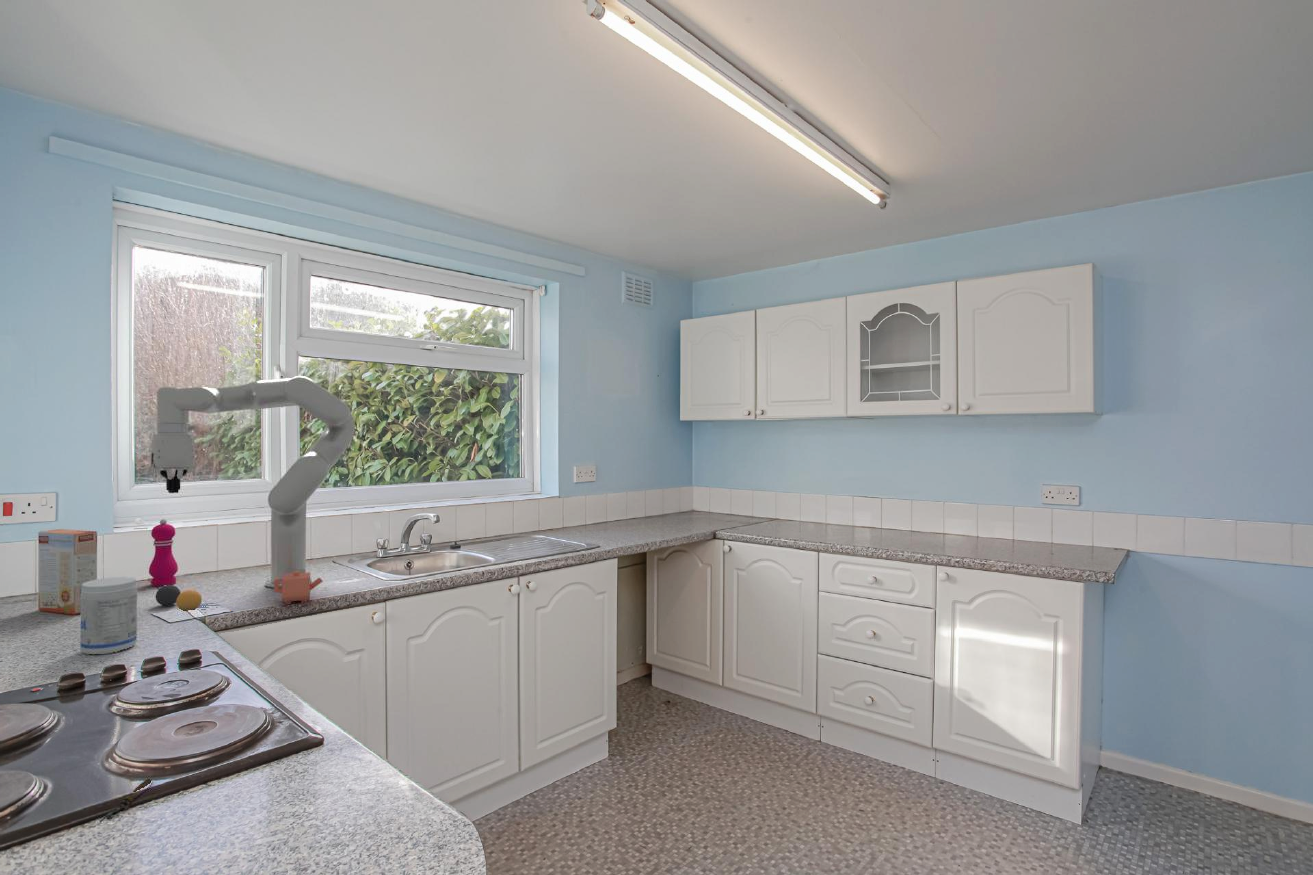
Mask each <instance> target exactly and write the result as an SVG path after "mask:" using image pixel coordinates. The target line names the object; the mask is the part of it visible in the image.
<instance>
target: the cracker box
mask: <svg viewBox="0 0 1313 875" xmlns="http://www.w3.org/2000/svg"><path fill="white" fill-rule="evenodd" d="M37 545H38V547H37V548H38V549H37V550H38V551H37V552H38V555H37V556H38V557H37V559H38V566H37V568H38V569H37V571H38V572H37V573H38V584H37V585H38V586H37V587H38V589H37V590H38V592H37V594H38V595H37V596H38V601H37V605H38V608H37V610H38V611H39V610H40V611H41V612H47V613H58V614H66V615H72V616H73V615H80V614H81V590H82V584H83V583H85V582H88V581H92V580H97V579H98V531H94V530H80V529H65V528H63V529H62V528H60V529H59V528H58V529H49V530H42V531H39V532H38V544H37Z"/></svg>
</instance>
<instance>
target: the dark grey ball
mask: <svg viewBox="0 0 1313 875" xmlns="http://www.w3.org/2000/svg"><path fill="white" fill-rule="evenodd" d="M181 593H182V592H181V590H180V588H179V587H178V586H176V585H175V584H172V585H166V586H160V587H159V589H157V591H156V593H155V600H156V602H157V603H158V605H161V606H164V607H165V606H166V607H169V606H168V605H170V606H172V604H173V605H175V604H176V600H177V597H178V596H179V595H180V594H181Z"/></svg>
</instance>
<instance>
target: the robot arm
mask: <svg viewBox="0 0 1313 875" xmlns="http://www.w3.org/2000/svg"><path fill="white" fill-rule="evenodd" d="M156 400H157V401H156V402H157V403H156V406H157V407H156V413H157V415H156V427H157V428H156V430H157V432H156V434H153V435H152V440H151V446H150V457H149V465H150V472H151V473H153V474H158V475H161V476H162V477H163V478H164V479H165V480H166V482H165V484H166V486H165V488H166V491H168V493H169V494H178V493H179V492H180V490H181V479H182V478H183V476H185V475H186V474H189V473H191V472H192V473H194V472H195V471H196V467H195V464H196V452H195V446H194V439H193V435H192V434H190V432H191V431H194V430H195V425H191V424H190V419H189V418H190V414H189V413H190V412H196V413H203V414H204V413H205V414H211V413H212V414H214V413H222V412H223V413H224V412H234V411H245V410H264V409H274V408H283V407H295V406H298V407H299V408H301V409H302V410H304V411H305V412H307V413H309V414H310V415H311V416H312V417H315V419H318V421H321V422H322V423H324V424H325V428H324V430H323V432H322V433H321V435H320V436H319V437H318V438H317V439H316V441H315V442H314V443H313V444H312V446H311V447H310V448H309V449H308V450H307V451H306V452H305V453H304V454H302V455H301V456H300V457H299V458H297V459H296V460H295V462H294V463H293V464H292V465H291V466H290V467H289V468H288V470H287V471H286V472H285V474H284V475H283V476H282V477H281V478H280V479H279V481H277V483H276V484H275V485H274V486H273V487H272V488H271V490H270V491H269V493H268V497H267V503H268V506H269V509H271V510H270V512H271V513H270V578H269V579H267V580H265V582H264V586H265V587H267V588H274V580H275V579H279V578H283V575H284V574H293V572H295V571H300V573H307V563H306V562H307V501H308V500H309V499H310V497H311V496H312V495H313V494H314V493H315V492H316V491H317V489H318V488H319V486H321V484H322V483H323V482H324V480H325V479H326V478H327V476H328V474H329V473H330V470H331V469H332V468H333V467H334V466H335V464H336V463H337V462H338V461H339V459H340V458H341V456H342V455H343V453H344V452H345V451H346V450H347V449H348V447H349V446H350V445H351V442H352V440H353V438H354V435H355V430H356V429H355V428H356V427H355V420H354V417H353V414H352V412H351V410H350V407H349V406H348V405H347V403H346V402H345V401H343V400H342V399H340V398H339V397H337V396H336V395H334V394H333V393H331V392H330V391H328V390H327V389H325V388H324V387H322V386H320V385H319V384H318V383H316V382H315V381H314V380H312V379H311V378H309V377H307V376H303V375H297V376H294V377H292V378H291V377H290V378H280V379H279V378H278V379H269V380H268V379H266V380H257V381H256V380H255V381H251V382H248V383H246V384H242V385H236V386H235V385H234V386H224V387H212V388H211V387H207V386H193V387H181V386H162V387H159V388H158V389H157V393H156ZM173 469H174V475H173V472H172V470H173ZM311 582H312V577H311V576H310V583H311ZM278 584H279V588H282V581H281V582H278Z"/></svg>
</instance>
